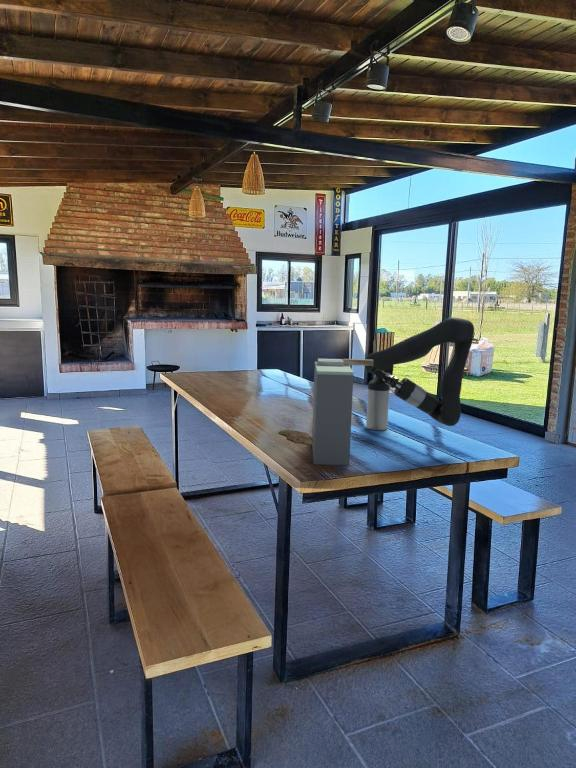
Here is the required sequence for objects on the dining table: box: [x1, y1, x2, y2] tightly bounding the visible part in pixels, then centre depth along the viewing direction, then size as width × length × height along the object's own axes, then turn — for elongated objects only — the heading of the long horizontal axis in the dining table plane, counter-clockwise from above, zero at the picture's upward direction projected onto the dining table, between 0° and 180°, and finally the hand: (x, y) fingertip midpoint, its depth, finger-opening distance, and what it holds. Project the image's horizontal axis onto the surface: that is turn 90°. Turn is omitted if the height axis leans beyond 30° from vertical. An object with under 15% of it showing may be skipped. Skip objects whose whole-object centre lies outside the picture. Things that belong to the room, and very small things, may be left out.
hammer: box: [317, 358, 374, 367], centre depth 199 cm, size 8×20×2 cm, turn 89°
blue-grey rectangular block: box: [311, 361, 354, 466], centre depth 196 cm, size 26×12×32 cm, turn 179°
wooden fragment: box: [277, 428, 312, 446], centre depth 219 cm, size 26×11×1 cm, turn 23°
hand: (373, 369), depth 199 cm, fingers open, 8 cm apart
